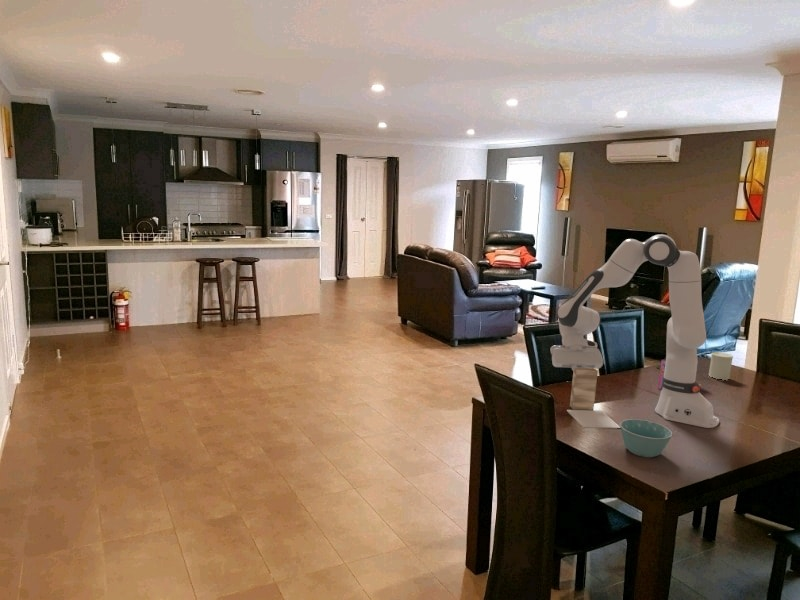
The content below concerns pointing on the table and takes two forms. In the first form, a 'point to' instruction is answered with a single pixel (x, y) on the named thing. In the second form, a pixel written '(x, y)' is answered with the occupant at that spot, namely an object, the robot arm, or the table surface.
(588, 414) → the mat
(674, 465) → the table surface
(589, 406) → the birch block
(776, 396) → the table surface
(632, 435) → the bowl
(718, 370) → the can
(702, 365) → the table surface
